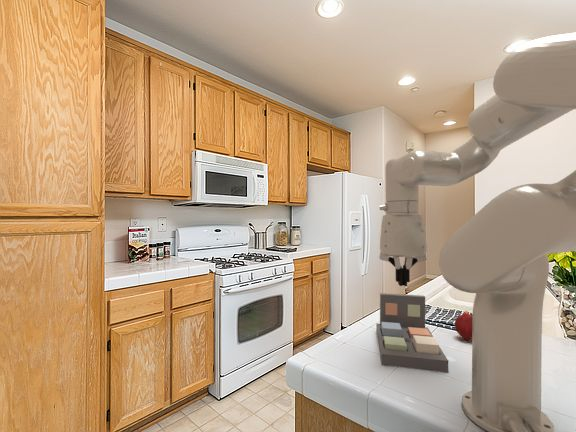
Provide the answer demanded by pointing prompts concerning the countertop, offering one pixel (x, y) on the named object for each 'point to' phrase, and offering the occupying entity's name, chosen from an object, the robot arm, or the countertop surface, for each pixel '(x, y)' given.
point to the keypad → (408, 315)
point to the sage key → (395, 343)
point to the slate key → (391, 329)
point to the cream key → (425, 344)
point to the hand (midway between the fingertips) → (402, 284)
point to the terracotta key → (418, 332)
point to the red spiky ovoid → (464, 325)
